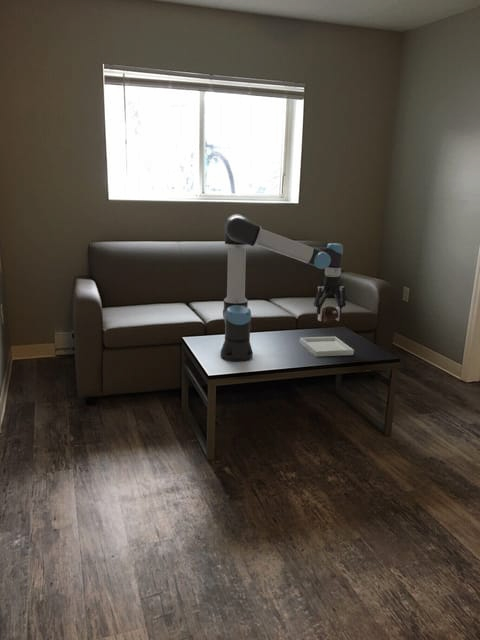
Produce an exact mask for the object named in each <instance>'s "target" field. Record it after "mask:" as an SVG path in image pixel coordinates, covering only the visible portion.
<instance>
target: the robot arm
mask: <svg viewBox="0 0 480 640" xmlns="http://www.w3.org/2000/svg"><path fill="white" fill-rule="evenodd" d="M223 229H224V245H225V246H226V247H227V275H226V277H227V280H226V281H227V284H226V287H227V288H226V297H225V298H224V299H223V308H222V309H223V310H222V316H223V318H222V319H224V325H225V326H224V327H225V328H224V341H223V344H222V347H221V348H220V349H221V350H220V358H222V359H223V360H225V361H229V362H236V363H238V362H239V363H240V362H247V361H250V360H252V359H253V356H254V355H253V353H254V352H253V349H252V345H251V341H250V340H251V338H250V337H251V320H252V311H251V309H250V308H249V307H248V305H249V304H248V302H249V300H248V299H247V298H246V267H247V265H246V262H247V260H246V259H247V247H248V246H250V247H255V246H258V247H261V248H264V249H267V250H268V251H272V252H275V253H278V254H280V255H283V256H286V257H288V258H292V259H293V260H294V259H295V260H297V261H300V262H303V263H305V264H308V265H311V266H313V267H316V268H317V269H320V270H324V278H323V285H322V286H317V292H316V296H315V298H314V302H313V306H314V307H315V308H316V314H317V320H318V321H319V322H322V320H323V319H322V318H323V316H322V308H323V307H322V306H323V305H324V303H325V301H326V299H327V297H328V296H329V295H330V296H331V295H333V296H334V298H335V301H336V304H337V306H336V307H335V308H336V309H337V310H338V315H339V317H337V319H335V320H336V321H337V322H339V321H340V315H341V314H342V310H343V308H344V307H346V303H347V302H346V295H345V291H346V287H345V286H344V285H342V286H340V283H341V281H340V280H341V275H342V262H343V254H344V245H342V244H341V243H336V242H329V243H327V246H326V247H320V246H319V247H317V246H309V245H307V244H304V243H302V242H299V241H296V240H293V239H290V238H288V237H285V236H282V235H280V234H277V233H274V232H272V231H269V230H265V229H263V228H262V226H261V225H259V224H258V223H257V224H256V223H254V222H252V221H251V220H249V219H248V218H247V217H246V216H245V215H243V214H242V213H241V214H239V213H234V214H232V215H230V216H228V217H227V218H226V219H225V221H224V225H223ZM323 290H324V291H323ZM338 291H339V292H338ZM339 293H340V294H339ZM339 295H340V296H339ZM321 307H322V308H321Z"/></svg>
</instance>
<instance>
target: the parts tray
mask: <svg viewBox="0 0 480 640" xmlns="http://www.w3.org/2000/svg"><path fill="white" fill-rule="evenodd" d="M298 343H300V344H301V345H302V346H303V347H304V348H305V349H306V350H307V351H309V352H310V353H311V354H312V355H313V356H314V357H333V356H335V357H336V356H354V352H355V349H353V348H352V347H350V346H349V345H348V344H346V343H345V342H344V341H342V340H341V339H339V338H338V337H337V336H311V337H305V336H304V337H299V342H298Z"/></svg>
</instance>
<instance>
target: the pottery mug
mask: <svg viewBox="0 0 480 640" xmlns="http://www.w3.org/2000/svg"><path fill="white" fill-rule="evenodd" d="M321 308H322V318H323V319H322V321H323V322H324V323H327V322H331V321H335V320H336V319H337V317H339V318H340V315H338V310H337V309H336V307H334V306H330V305H328V306H327V305H326V306H325V307H321ZM333 312H335V314H334V313H333Z"/></svg>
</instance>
